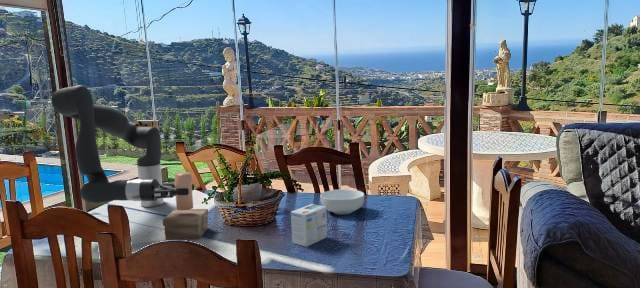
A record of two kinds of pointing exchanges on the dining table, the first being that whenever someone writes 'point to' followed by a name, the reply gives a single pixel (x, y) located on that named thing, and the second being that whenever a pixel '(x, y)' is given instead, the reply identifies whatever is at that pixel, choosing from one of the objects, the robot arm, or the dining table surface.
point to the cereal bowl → (342, 200)
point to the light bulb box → (309, 224)
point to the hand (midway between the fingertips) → (191, 189)
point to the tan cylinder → (184, 182)
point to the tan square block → (185, 224)
